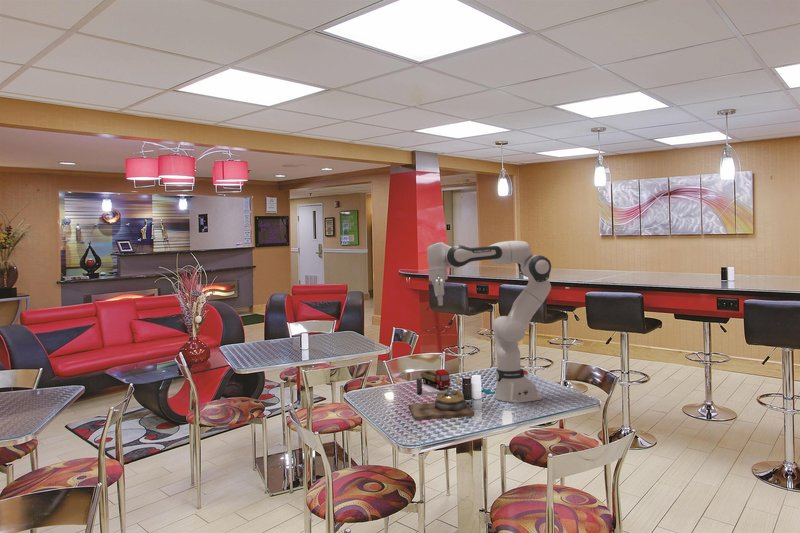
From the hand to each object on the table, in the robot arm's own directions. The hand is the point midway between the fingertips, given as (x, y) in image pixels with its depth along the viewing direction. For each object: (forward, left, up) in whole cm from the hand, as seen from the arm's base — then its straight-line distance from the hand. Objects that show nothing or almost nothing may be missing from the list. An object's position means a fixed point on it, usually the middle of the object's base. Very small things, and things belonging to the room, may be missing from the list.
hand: (440, 305), depth 248 cm
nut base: (+4, +13, -46) cm, 48 cm away
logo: (-23, -26, -47) cm, 58 cm away
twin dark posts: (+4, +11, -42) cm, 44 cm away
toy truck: (-3, -31, -47) cm, 56 cm away
